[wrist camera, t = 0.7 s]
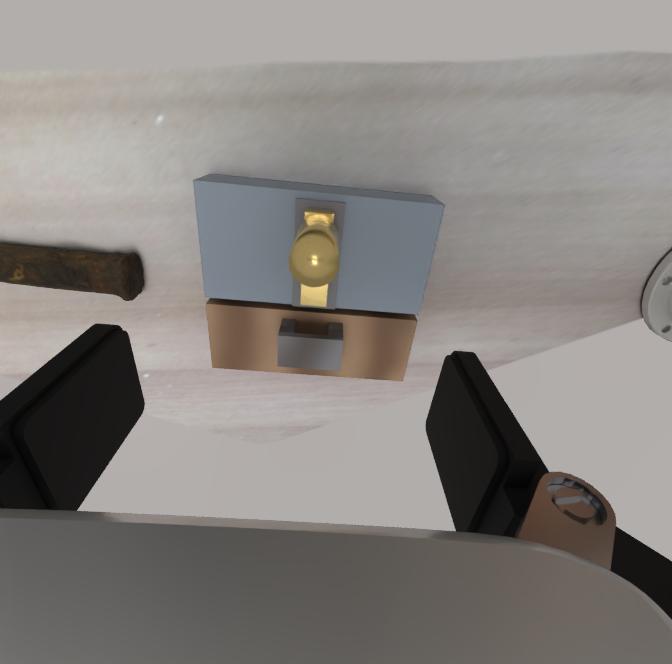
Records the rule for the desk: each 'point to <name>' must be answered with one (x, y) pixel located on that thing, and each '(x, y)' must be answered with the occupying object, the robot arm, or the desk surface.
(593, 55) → the desk surface
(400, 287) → the door leaf
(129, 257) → the hand tool
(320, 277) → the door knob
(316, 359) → the door jamb
